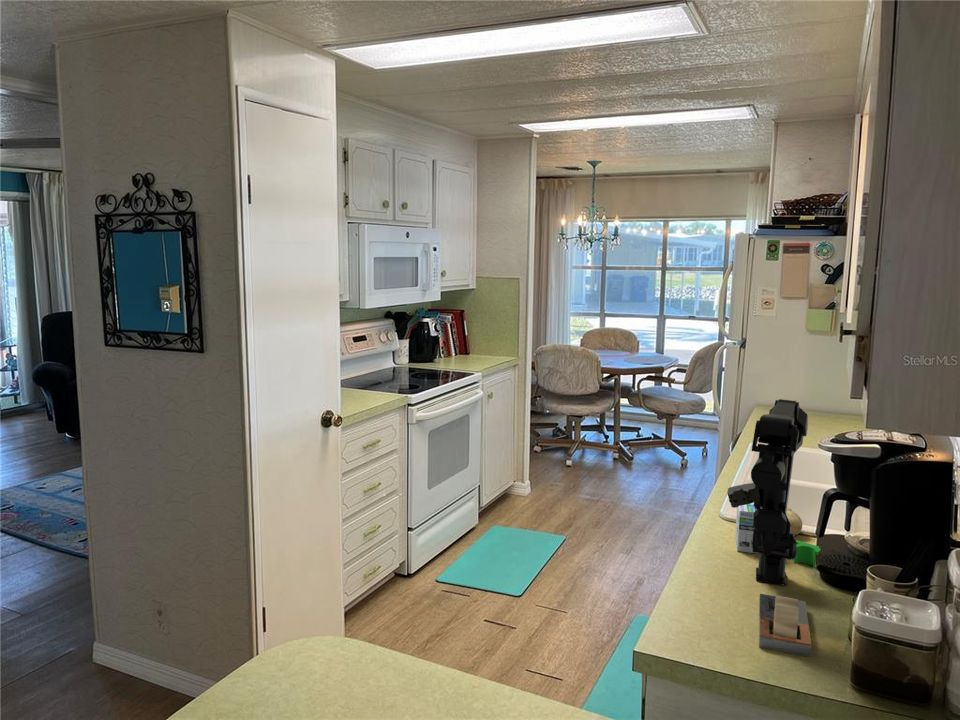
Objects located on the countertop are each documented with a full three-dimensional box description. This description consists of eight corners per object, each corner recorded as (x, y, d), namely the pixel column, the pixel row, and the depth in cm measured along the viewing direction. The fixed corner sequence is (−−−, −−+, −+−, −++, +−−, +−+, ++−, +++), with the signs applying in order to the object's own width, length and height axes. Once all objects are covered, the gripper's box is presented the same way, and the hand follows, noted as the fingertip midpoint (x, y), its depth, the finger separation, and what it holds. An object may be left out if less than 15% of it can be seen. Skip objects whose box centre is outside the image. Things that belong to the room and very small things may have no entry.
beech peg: (772, 633, 144) (775, 595, 143) (794, 637, 143) (797, 599, 141) (773, 643, 140) (776, 604, 139) (795, 647, 139) (799, 608, 138)
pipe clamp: (781, 560, 178) (782, 542, 177) (786, 555, 181) (787, 538, 180) (830, 573, 171) (831, 555, 170) (834, 568, 174) (836, 550, 173)
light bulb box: (764, 555, 180) (768, 514, 179) (736, 551, 182) (739, 511, 180) (761, 538, 190) (764, 499, 189) (734, 535, 192) (736, 496, 191)
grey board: (759, 602, 156) (759, 592, 156) (804, 610, 153) (805, 600, 153) (759, 647, 139) (759, 636, 138) (810, 657, 136) (811, 646, 135)
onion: (807, 535, 193) (809, 509, 192) (790, 542, 189) (792, 516, 188) (780, 525, 200) (782, 501, 199) (763, 532, 195) (765, 506, 194)
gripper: (732, 459, 163) (728, 525, 165) (729, 484, 145) (724, 557, 148) (786, 465, 159) (780, 532, 161) (789, 491, 141) (783, 567, 144)
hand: (766, 546), depth 154 cm, fingers open, 9 cm apart
